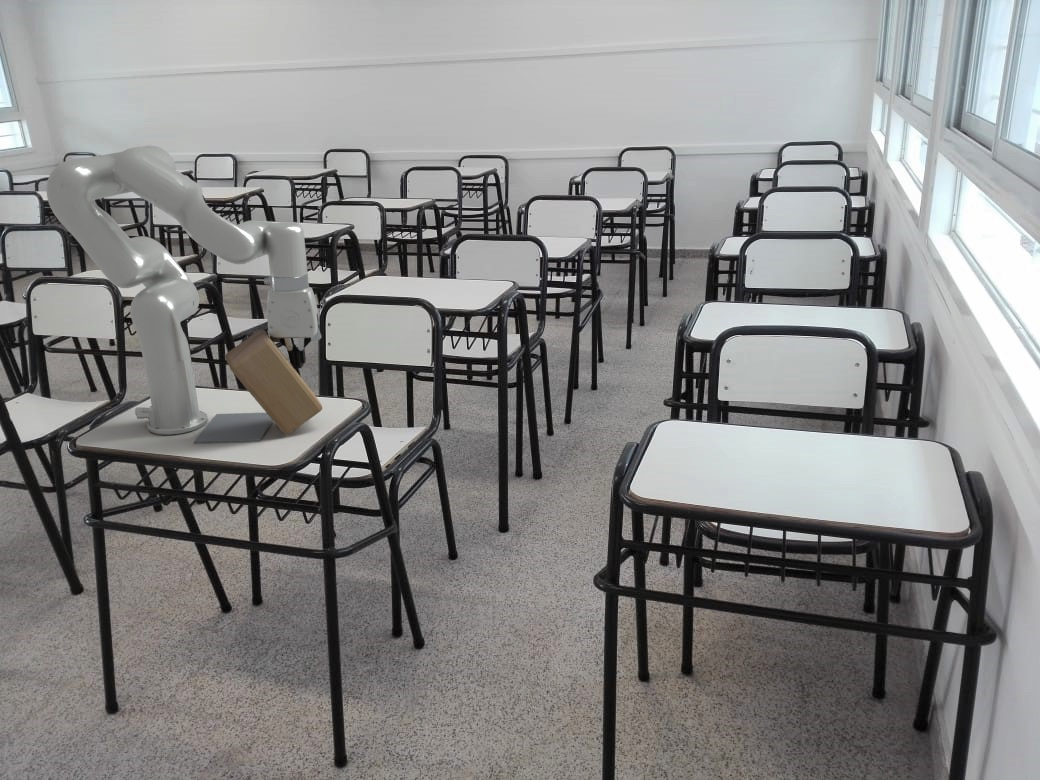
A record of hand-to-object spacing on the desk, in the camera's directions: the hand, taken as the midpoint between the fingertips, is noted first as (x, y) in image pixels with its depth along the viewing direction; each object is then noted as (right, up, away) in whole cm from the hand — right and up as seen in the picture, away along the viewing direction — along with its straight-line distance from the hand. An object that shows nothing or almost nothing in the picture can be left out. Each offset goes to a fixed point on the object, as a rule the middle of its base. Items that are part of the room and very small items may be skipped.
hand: (298, 366), depth 182 cm
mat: (-15, -13, +4) cm, 20 cm away
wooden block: (0, -11, +4) cm, 12 cm away
